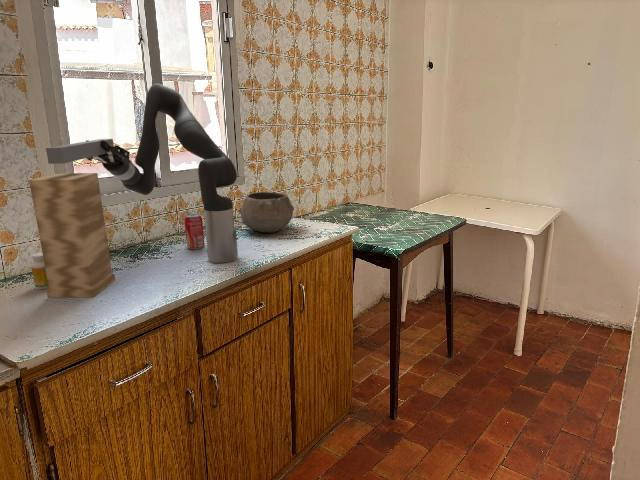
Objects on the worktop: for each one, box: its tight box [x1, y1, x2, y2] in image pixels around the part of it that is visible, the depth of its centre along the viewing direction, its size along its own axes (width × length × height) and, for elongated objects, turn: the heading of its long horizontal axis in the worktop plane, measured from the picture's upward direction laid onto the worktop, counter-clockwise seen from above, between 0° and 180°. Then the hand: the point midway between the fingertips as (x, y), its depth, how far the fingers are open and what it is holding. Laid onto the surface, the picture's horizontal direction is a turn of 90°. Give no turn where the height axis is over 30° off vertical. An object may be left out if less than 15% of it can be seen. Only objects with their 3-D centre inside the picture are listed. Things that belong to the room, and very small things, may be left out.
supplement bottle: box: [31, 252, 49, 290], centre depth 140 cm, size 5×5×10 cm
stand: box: [28, 172, 116, 298], centre depth 134 cm, size 13×13×32 cm
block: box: [45, 138, 115, 165], centre depth 140 cm, size 4×30×4 cm, turn 178°
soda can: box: [183, 213, 206, 250], centre depth 175 cm, size 6×6×12 cm
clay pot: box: [238, 191, 295, 234], centre depth 194 cm, size 21×21×15 cm
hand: (94, 143), depth 146 cm, fingers closed on block, 4 cm apart
